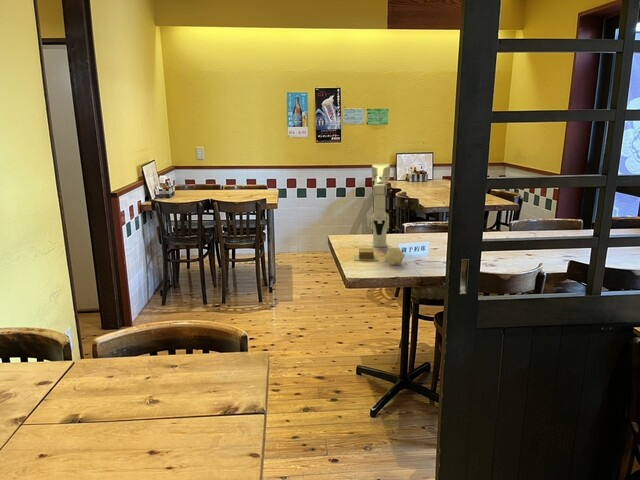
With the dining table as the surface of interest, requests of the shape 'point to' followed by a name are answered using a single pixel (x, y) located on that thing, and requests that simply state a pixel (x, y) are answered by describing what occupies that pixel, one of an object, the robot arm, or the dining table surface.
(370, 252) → the walnut block
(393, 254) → the die
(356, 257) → the mat
